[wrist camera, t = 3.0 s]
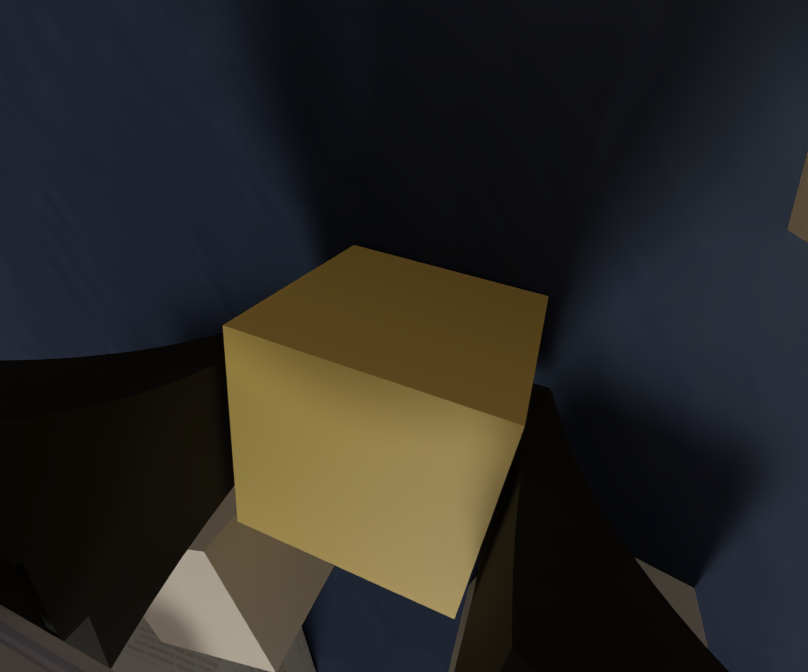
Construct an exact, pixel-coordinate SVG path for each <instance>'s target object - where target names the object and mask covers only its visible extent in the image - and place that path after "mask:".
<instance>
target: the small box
mask: <svg viewBox="0 0 808 672" xmlns="http://www.w3.org/2000/svg"><path fill="white" fill-rule="evenodd" d="M111 670H113V671H115V672H270V671H266V670H262V669H259V668H255V667H251V666H248V665H244V664H240V663H237V662H233V661H229V660H226V659H222V658H218V657H215V656H211V655H207V654H204V653H200V652H196V651H193V650H189V649H185V648H182V647H178V646H174V645H171V644H167V643H163V642H161V640H160V639H159V638H158V636H157V635H156V633H155V632H154V631H153V629H152V628H151V626H150V625H149V624H148V622H147V621H146V619H145V618H144V617H143V618H142V620H141V621H140V623H139V624H138V626H137V628H136V629H135V631H134V632H133V634H132V636H131V637H130V639H129V640H128V642H127V644H126V645H125V647H124V648H123V650H122V652H121V653H120V655H119V657H118V658H117V660H116V662H115V664H114V665H113V667H112V669H111ZM277 672H316V670H315V667H314V664H313V661H312V658H311V655H310V652H309V648H308V645H307V642H306V639H305V636H304V633H303V629H302V626H301V628H300V630H299V632H298V634H297V636H296V637H295V639H294V641H293V643H292V645H291V647H290V649H289V650H288V652H287V654H286V656H285V658H284V660H283V662H282V663H281V665H280V667H279V669H278V671H277Z"/></svg>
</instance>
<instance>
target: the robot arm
mask: <svg viewBox="0 0 808 672" xmlns="http://www.w3.org/2000/svg"><path fill="white" fill-rule="evenodd" d="M234 486H235V481H234V468H233V455H232V442H231V428H230V415H229V402H228V389H227V375H226V362H225V349H224V336H223V333H221V334H217V335H213V336H209V337H205V338H201V339H197V340H193V341H188V342H184V343H179V344H174V345H169V346H164V347H158V348H152V349H146V350H140V351H133V352H125V353H115V354H106V355H96V356H87V357H77V358H61V359H43V360H10V361H0V672H115V671H113V670H111V669H112V667H113V665H114V664H115V662H116V660H117V658H118V657H119V655H120V653H121V652H122V650H123V648H124V647H125V645H126V644H127V642H128V640H129V639H130V637H131V636H132V634H133V632H134V631H135V629H136V628H137V626H138V624H139V623H140V621H141V620H142V618H143V616H144V615H145V613H146V612H147V610H148V608H149V607H150V605H151V604H152V602H153V600H154V599H155V597H156V596H157V594H158V593H159V591H160V590H161V588H162V587H163V585H164V584H165V582H166V581H167V579H168V578H169V576H170V575H171V573H172V572H173V570H174V569H175V567H176V566H177V564H178V563H179V561H180V560H181V558H182V557H183V555H184V554H185V553H186V551H187V550H188V548H189V547H190V546H191V544H192V543H193V541H194V540H195V539H196V537H197V536H198V534H199V533H200V531H201V530H202V529H203V527H204V526H205V524H206V523H207V522H208V520H209V519H210V518H211V516H212V515H213V514H214V512H215V511H216V510H217V508H218V507H219V506H220V504H221V503H222V502H223V500H224V499H225V498H226V496H227V495H228V494H229V492H230V491H231V490H232V488H233V487H234ZM454 672H729V671H728V670H727V669H726V668H725V667H724V666H723V665H722V664H721V663H720V662H719V661H718V660H717V659H716V657H715V656H714V655H713V654H712V653H711V652H710V651H709V650H708V648H707V647H706V646H705V645H704V644H703V643H702V642H701V640H700V639H699V638H698V637H697V636H696V634H695V633H694V632H693V631H692V630H691V629H690V627H689V626H688V625H687V624H686V623H685V622H684V620H683V619H682V618H681V617H680V616H679V614H678V613H677V612H676V611H675V610H674V609H673V607H672V606H671V605H670V604H669V602H668V601H667V600H666V599H665V597H664V596H663V595H662V593H661V592H660V591H659V590H658V588H657V587H656V586H655V585H654V583H653V582H652V581H651V579H650V578H649V577H648V575H647V574H646V573H645V571H644V570H643V568H642V567H641V566H640V564H639V563H638V562H637V560H636V559H635V558H634V556H633V555H632V554H631V552H630V551H629V549H628V548H627V547H626V545H625V544H624V542H623V541H622V539H621V538H620V536H619V535H618V533H617V532H616V530H615V529H614V527H613V525H612V524H611V522H610V521H609V519H608V517H607V516H606V514H605V513H604V511H603V509H602V507H601V506H600V504H599V502H598V500H597V499H596V497H595V495H594V493H593V491H592V489H591V487H590V485H589V483H588V481H587V479H586V478H585V476H584V474H583V472H582V469H581V467H580V465H579V463H578V461H577V459H576V456H575V454H574V452H573V449H572V447H571V445H570V442H569V440H568V438H567V435H566V433H565V430H564V427H563V425H562V422H561V419H560V416H559V413H558V410H557V407H556V404H555V400H554V397H553V394H552V392H551V390H550V388H547V387H544V386H540V385H537V384H534V383H533V384H532V390H531V395H530V401H529V406H528V412H527V417H526V422H525V427H524V430H523V433H522V435H521V438H520V441H519V443H518V446H517V449H516V452H515V454H514V457H513V460H512V463H511V465H510V468H509V471H508V474H507V476H506V479H505V482H504V484H503V487H502V490H501V493H500V495H499V498H498V501H497V504H496V506H495V509H494V512H493V514H492V517H491V520H490V523H489V525H488V528H487V531H486V534H485V536H484V539H483V542H482V545H481V552H480V558H479V565H478V572H477V577H476V583H475V588H474V593H473V597H472V601H471V605H470V609H469V613H468V618H467V622H466V626H465V630H464V634H463V638H462V642H461V646H460V650H459V654H458V658H457V662H456V666H455V670H454Z"/></svg>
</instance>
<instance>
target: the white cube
mask: <svg viewBox="0 0 808 672" xmlns="http://www.w3.org/2000/svg"><path fill="white" fill-rule="evenodd" d="M333 567H334V565H333V564H331V563H329V562H326V561H324V560H322V559H320V558H318V557H315V556H313V555H311V554H309V553H306V552H304V551H302V550H300V549H298V548H295V547H293V546H291V545H289V544H287V543H284V542H282V541H280V540H278V539H275V538H273V537H271V536H269V535H267V534H264V533H262V532H260V531H258V530H255V529H253V528H251V527H249V526H247V525H244V524H242V523H240V522H238V521H237V508H236V494H235V486H234V487H233V488H232V490H231V491H230V492H229V494H228V495H227V496H226V498H225V499H224V500H223V502H222V503H221V504H220V506H219V507H218V508H217V510H216V511H215V512H214V514H213V515H212V516H211V518H210V519H209V520H208V522H207V523H206V524H205V526H204V527H203V529H202V530H201V531H200V533H199V534H198V536H197V537H196V539H195V540H194V541H193V543H192V544H191V546H190V547H189V548H188V550H187V551H186V553H185V554H184V555H183V557H182V558H181V560H180V561H179V563H178V564H177V566H176V567H175V569H174V570H173V572H172V573H171V575H170V576H169V578H168V579H167V581H166V582H165V584H164V585H163V587H162V588H161V590H160V591H159V593H158V594H157V596H156V597H155V599H154V600H153V602H152V604H151V605H150V607H149V608H148V610H147V612H146V613H145V615H144V616H143V617H144V618H145V619H146V621H147V622H148V624H149V625H150V626H151V628H152V629H153V631H154V632H155V633H156V635H157V636H158V638H159V639H160V640H161V642H163V643H167V644H171V645H174V646H178V647H182V648H185V649H189V650H193V651H196V652H200V653H204V654H207V655H211V656H215V657H218V658H222V659H226V660H229V661H233V662H237V663H240V664H244V665H248V666H251V667H255V668H259V669H262V670H266V671H270V672H277V671H278V669H279V667H280V665H281V663H282V662H283V660H284V658H285V656H286V654H287V652H288V650H289V649H290V647H291V645H292V643H293V641H294V639H295V637H296V636H297V634H298V632H299V630H300V628H301V626H302V624H303V622H304V621H305V619H306V617H307V615H308V613H309V611H310V609H311V608H312V606H313V604H314V602H315V600H316V598H317V596H318V595H319V593H320V591H321V589H322V587H323V585H324V583H325V582H326V580H327V578H328V576H329V574H330V572H331V570H332V569H333Z"/></svg>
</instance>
